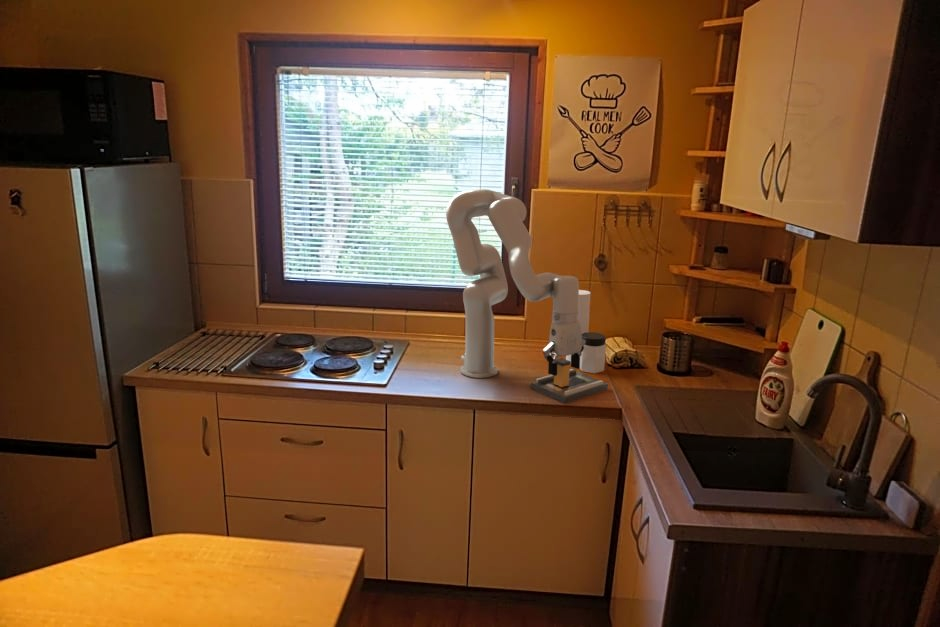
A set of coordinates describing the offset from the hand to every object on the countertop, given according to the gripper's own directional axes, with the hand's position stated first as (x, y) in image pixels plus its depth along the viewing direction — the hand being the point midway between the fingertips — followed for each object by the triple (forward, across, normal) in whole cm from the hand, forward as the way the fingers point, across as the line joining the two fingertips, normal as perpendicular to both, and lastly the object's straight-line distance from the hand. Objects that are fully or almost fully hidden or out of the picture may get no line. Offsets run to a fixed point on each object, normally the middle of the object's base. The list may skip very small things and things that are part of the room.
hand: (564, 371), depth 194 cm
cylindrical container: (+7, +25, +18) cm, 32 cm away
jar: (+7, +23, +9) cm, 26 cm away
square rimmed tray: (+5, +3, +1) cm, 6 cm away
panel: (+7, +3, +1) cm, 8 cm away
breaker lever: (+5, 0, +1) cm, 5 cm away
